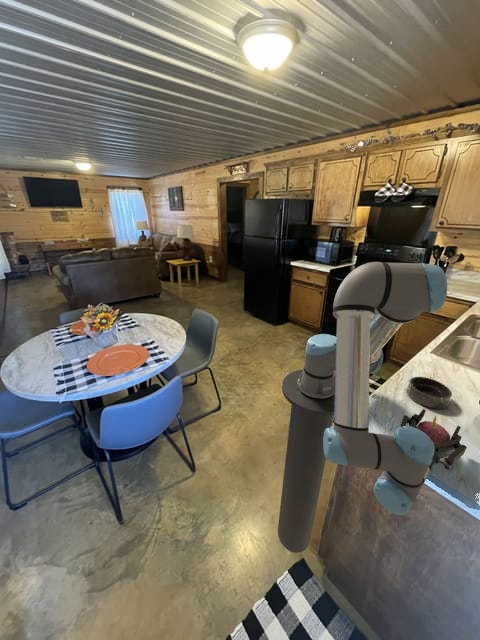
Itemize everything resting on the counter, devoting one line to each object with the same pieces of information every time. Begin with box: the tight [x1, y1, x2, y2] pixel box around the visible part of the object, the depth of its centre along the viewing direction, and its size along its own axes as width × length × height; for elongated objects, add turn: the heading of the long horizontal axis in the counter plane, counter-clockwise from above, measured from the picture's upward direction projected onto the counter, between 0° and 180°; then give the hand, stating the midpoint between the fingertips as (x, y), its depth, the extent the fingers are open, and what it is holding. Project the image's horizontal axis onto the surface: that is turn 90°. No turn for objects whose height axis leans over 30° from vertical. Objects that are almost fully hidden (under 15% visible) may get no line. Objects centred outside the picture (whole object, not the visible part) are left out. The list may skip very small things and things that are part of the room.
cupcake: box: [417, 415, 451, 444], centre depth 79 cm, size 9×8×12 cm
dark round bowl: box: [406, 376, 453, 410], centre depth 101 cm, size 13×13×5 cm
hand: (439, 420), depth 82 cm, fingers closed on cupcake, 8 cm apart
